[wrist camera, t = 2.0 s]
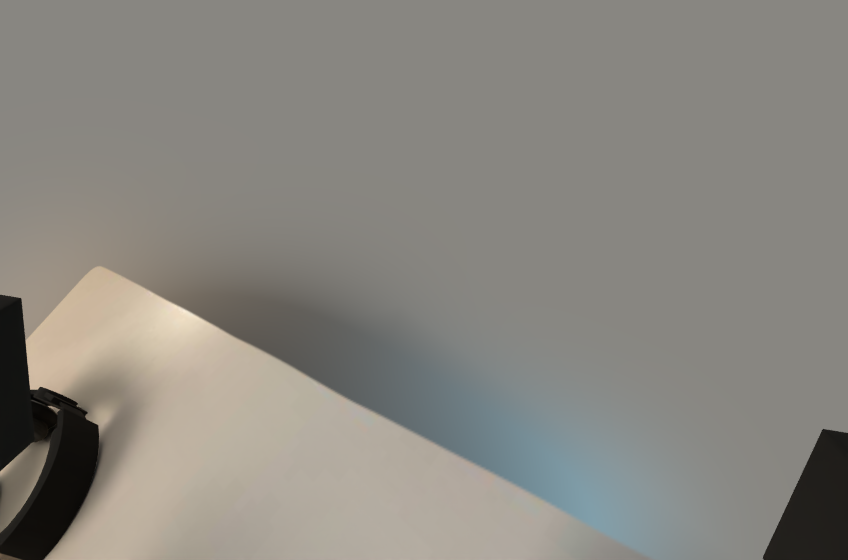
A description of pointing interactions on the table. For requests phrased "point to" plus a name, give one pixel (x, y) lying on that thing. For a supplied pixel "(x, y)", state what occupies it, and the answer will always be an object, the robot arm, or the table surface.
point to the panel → (7, 557)
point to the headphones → (54, 477)
